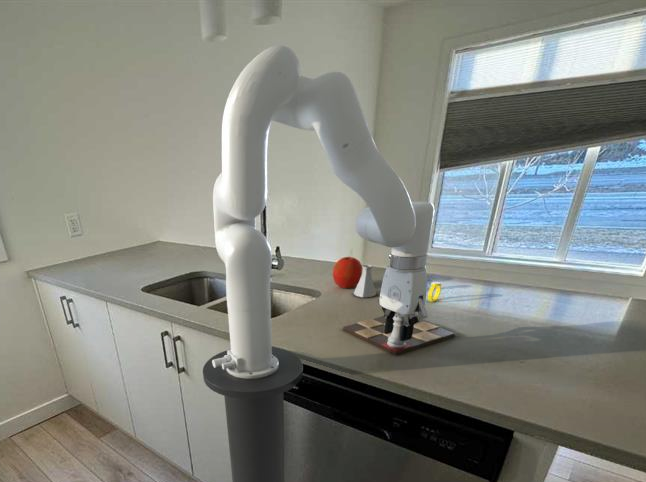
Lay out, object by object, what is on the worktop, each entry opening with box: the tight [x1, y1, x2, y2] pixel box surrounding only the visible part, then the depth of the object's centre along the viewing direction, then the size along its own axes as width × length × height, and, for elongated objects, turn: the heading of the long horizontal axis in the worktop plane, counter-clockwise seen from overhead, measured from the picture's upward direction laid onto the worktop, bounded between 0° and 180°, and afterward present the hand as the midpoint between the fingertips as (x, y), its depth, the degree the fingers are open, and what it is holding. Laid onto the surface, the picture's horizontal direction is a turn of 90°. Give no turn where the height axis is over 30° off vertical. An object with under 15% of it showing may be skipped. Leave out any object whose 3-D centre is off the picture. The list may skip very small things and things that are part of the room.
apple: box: [332, 255, 363, 289], centre depth 147 cm, size 10×10×12 cm
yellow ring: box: [427, 281, 442, 303], centre depth 128 cm, size 6×3×6 cm, turn 131°
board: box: [342, 313, 456, 356], centre depth 110 cm, size 20×20×1 cm
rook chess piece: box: [387, 313, 406, 348], centre depth 99 cm, size 4×4×8 cm
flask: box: [353, 264, 377, 298], centre depth 138 cm, size 7×7×10 cm
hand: (397, 335), depth 100 cm, fingers open, 4 cm apart
